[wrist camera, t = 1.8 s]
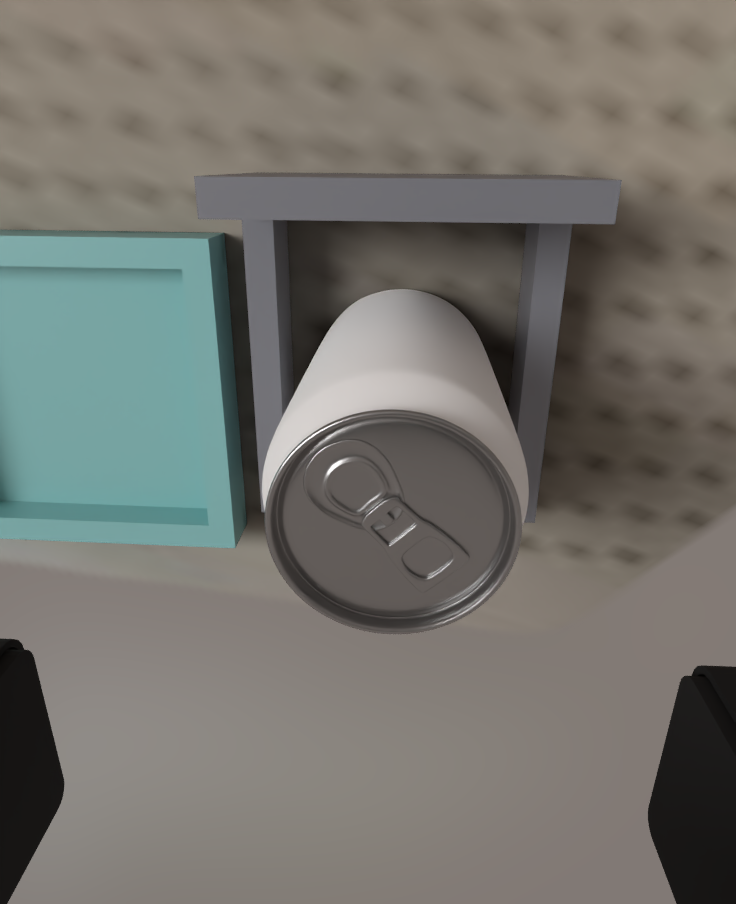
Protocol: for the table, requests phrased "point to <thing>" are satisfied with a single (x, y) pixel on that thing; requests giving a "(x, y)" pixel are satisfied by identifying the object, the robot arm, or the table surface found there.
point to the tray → (118, 389)
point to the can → (396, 471)
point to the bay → (409, 200)
